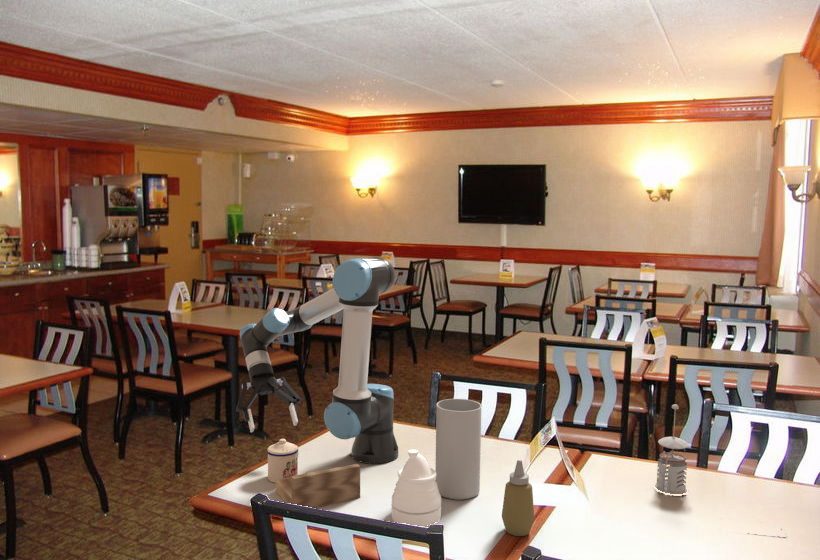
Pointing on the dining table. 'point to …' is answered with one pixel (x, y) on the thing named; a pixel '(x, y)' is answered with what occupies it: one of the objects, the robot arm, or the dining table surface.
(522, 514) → the squeeze bottle
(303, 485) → the cleat board
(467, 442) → the cylinder vase
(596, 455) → the dining table surface
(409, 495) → the honey pot
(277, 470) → the teacup with lid
